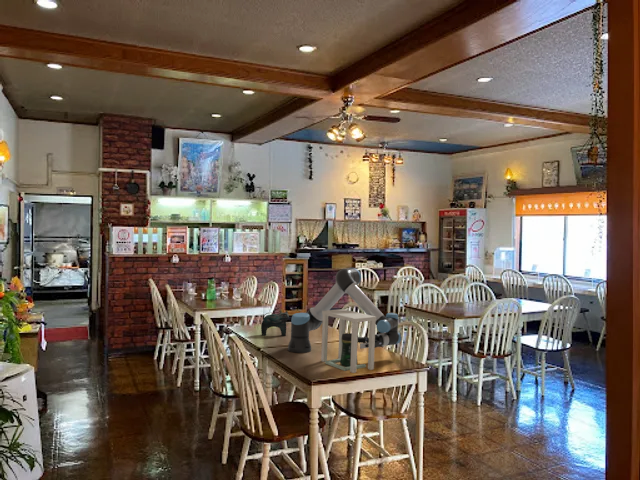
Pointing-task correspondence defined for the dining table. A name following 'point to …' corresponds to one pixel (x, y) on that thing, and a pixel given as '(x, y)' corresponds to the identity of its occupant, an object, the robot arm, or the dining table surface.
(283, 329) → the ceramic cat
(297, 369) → the dining table surface
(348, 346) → the dark green bottle
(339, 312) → the cream stool
